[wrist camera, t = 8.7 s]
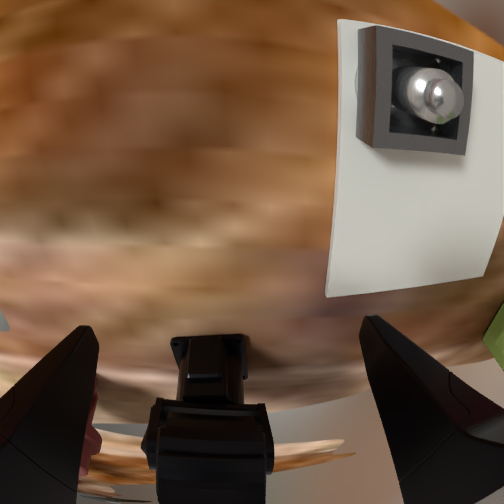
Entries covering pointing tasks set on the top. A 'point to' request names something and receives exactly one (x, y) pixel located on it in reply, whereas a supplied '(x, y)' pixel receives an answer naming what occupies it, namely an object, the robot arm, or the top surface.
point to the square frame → (380, 86)
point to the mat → (415, 192)
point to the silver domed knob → (421, 92)
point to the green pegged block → (496, 337)
